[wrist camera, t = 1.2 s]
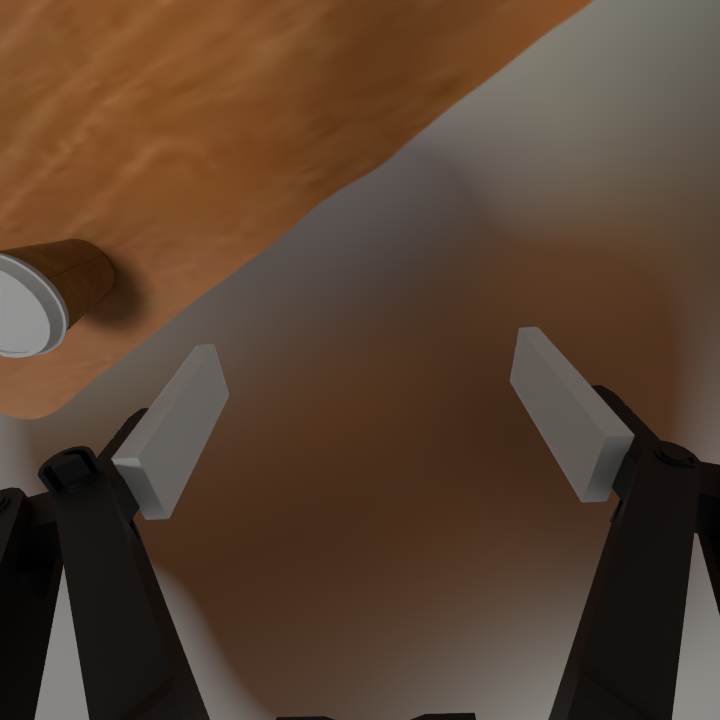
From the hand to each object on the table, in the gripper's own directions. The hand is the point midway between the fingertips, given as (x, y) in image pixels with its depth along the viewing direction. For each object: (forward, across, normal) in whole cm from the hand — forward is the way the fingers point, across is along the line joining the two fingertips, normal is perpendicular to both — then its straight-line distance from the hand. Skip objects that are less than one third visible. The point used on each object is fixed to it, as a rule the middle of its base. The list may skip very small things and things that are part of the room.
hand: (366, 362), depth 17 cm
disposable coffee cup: (+27, -31, -2) cm, 41 cm away
